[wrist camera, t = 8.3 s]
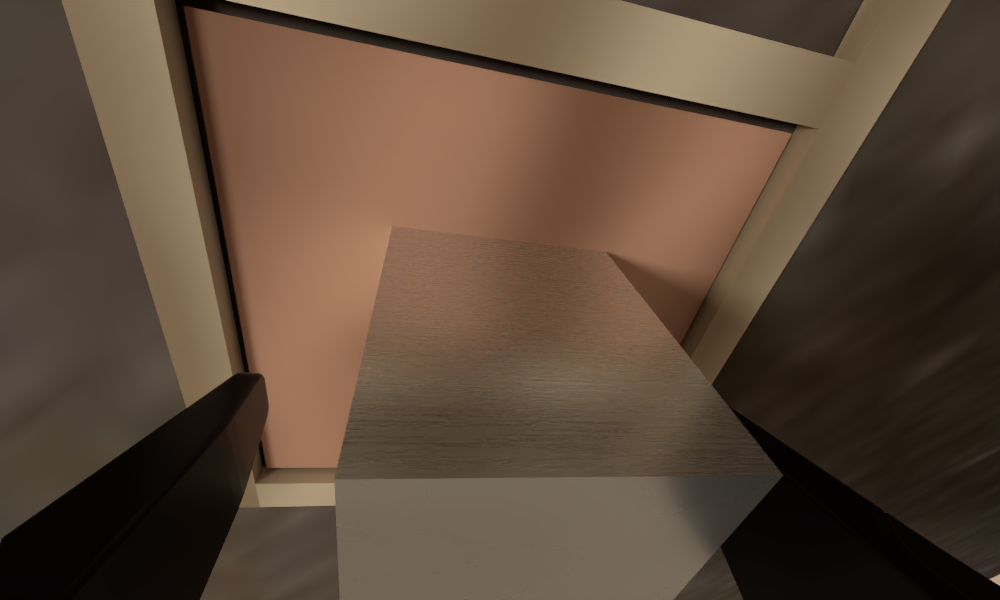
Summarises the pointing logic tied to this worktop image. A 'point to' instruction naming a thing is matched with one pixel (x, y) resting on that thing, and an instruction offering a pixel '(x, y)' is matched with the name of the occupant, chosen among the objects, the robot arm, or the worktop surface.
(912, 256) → the worktop surface
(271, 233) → the rectangular frame with crossbars
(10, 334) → the worktop surface
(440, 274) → the metal block
